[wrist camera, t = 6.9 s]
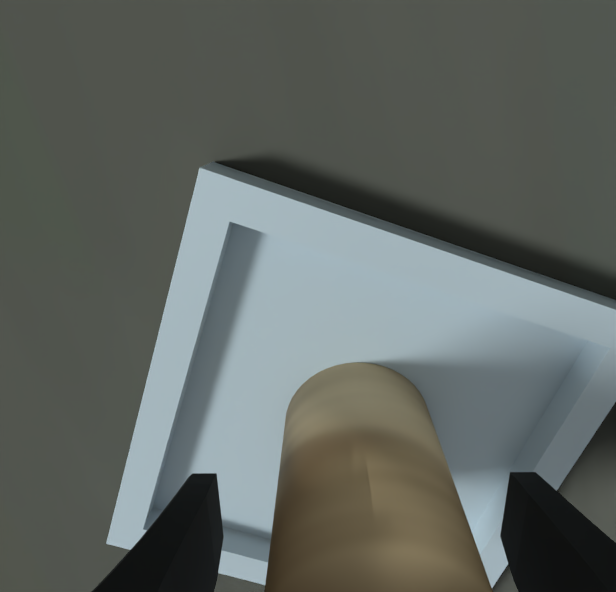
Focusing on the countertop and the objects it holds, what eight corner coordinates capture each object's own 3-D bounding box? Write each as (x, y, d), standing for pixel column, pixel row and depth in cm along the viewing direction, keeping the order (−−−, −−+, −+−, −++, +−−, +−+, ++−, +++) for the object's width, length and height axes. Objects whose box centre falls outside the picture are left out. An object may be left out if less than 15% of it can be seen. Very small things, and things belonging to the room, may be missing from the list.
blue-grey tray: (449, 595, 18) (460, 636, 17) (124, 507, 17) (106, 543, 16) (630, 305, 14) (665, 326, 12) (212, 161, 13) (199, 167, 11)
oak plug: (396, 498, 16) (442, 740, 10) (267, 461, 15) (231, 689, 9) (453, 388, 14) (550, 592, 8) (311, 343, 14) (303, 524, 8)
